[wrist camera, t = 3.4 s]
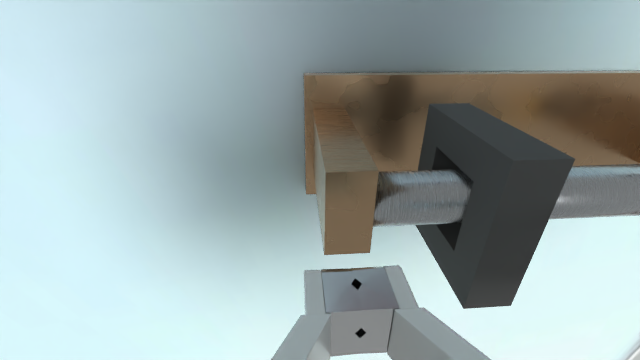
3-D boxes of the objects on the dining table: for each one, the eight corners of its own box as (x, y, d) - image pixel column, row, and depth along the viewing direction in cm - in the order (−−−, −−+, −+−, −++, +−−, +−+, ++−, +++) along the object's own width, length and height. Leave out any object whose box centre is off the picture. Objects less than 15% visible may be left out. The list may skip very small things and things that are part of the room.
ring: (409, 214, 18) (463, 308, 13) (429, 103, 15) (513, 160, 9) (442, 213, 18) (510, 305, 13) (468, 103, 15) (575, 158, 10)
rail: (305, 188, 22) (313, 291, 14) (303, 73, 18) (311, 121, 10) (638, 177, 24) (815, 262, 16) (699, 70, 20) (973, 109, 12)
